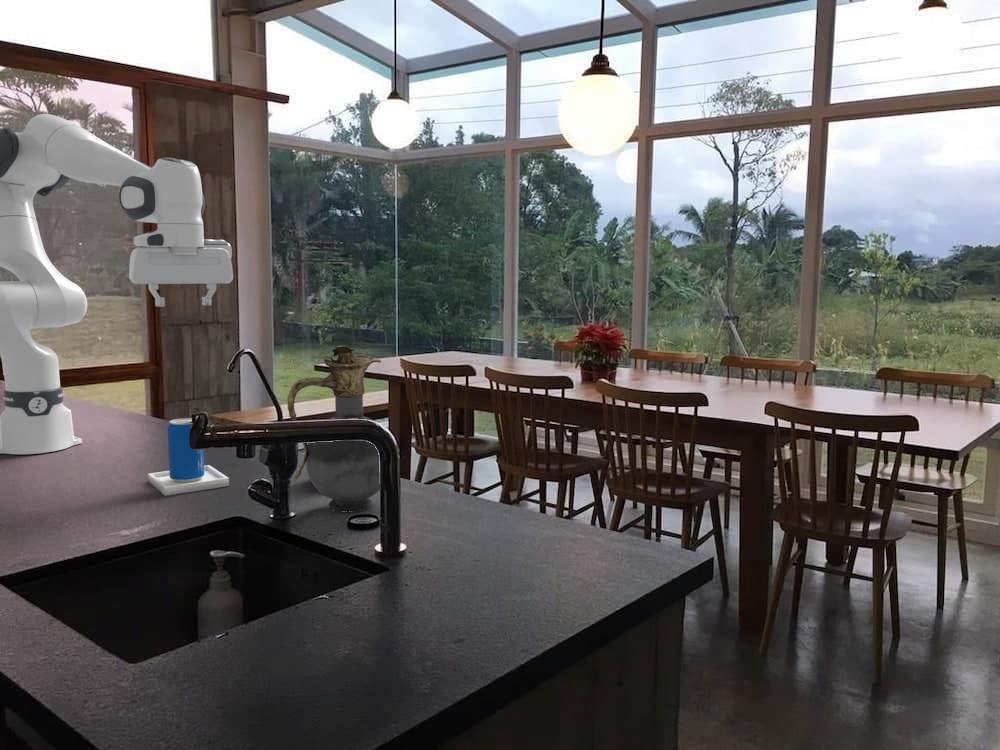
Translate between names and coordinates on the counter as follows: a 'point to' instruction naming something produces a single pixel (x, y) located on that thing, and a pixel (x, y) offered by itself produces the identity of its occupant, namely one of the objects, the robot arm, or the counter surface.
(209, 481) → the tray
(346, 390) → the pitcher
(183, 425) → the beverage can
